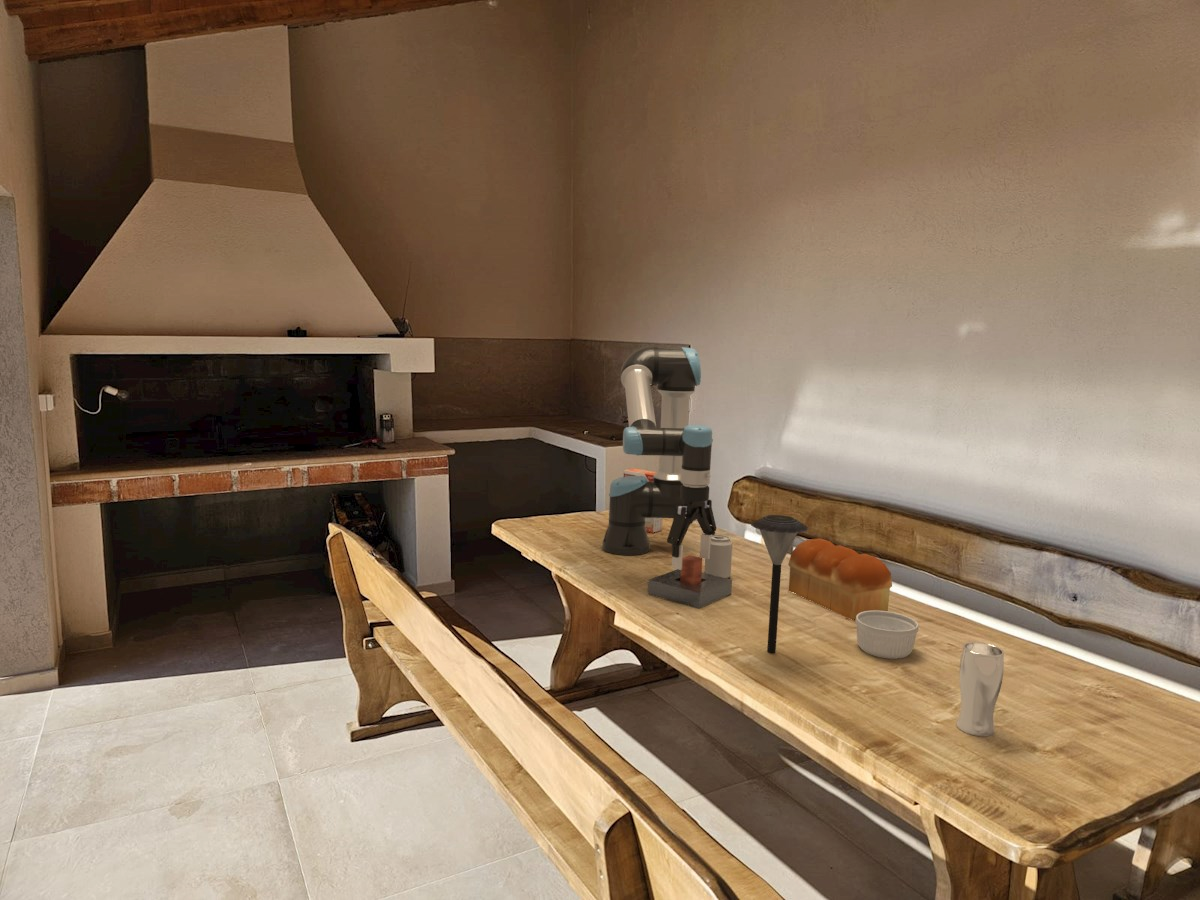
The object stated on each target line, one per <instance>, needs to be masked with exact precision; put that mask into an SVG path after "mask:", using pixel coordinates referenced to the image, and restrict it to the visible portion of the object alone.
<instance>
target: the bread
mask: <svg viewBox="0 0 1200 900" xmlns="http://www.w3.org/2000/svg"><path fill="white" fill-rule="evenodd" d="M787 565H788V566H789V576H788V577H789V578H788V580H789V581H788V592H789V591H791V592H794V593H796V594H797V595H796V594H795V595H796V596H798V595H800V596H802V597H804V598H803V599H805V598H806V599H805V600H807V599H808V600H807V601H809V600H811V601H813V602H815V603H814V604H816V603H817V604H816V605H818V604H820V605H822V606H824V607H823V608H825V607H826V608H825V609H827V608H828V609H827V610H829V609H830V610H829V611H831V610H832V611H831V612H834V613H836V614H838V615H840V614H841V615H840V616H842V617H845V618H847V619H849V618H850V620H851V619H852V621H854V620H853V619H855V620H856V616H857V614H859V613H861V612H864V611H873V610H878V611H888V612H889V604H890V603H889V602H890V592H891V591H890V590H891V588H892V587H893V582H892V573H891V570H889V568H888V566H886V564H885V563H884V562H883V561H882V560H880V559H879V558H878V557H875V556H873V555H871V554H868V553H858V552H857V551H855V550H854V549H852V548H849V547H846V546H843V545H841V544H839V545H835V544H834V543H832V542H831V541H830V540H826V539H823V538H822V537H821V538H811V539H806V540H804V541H802V542H801V543H799V544H797V545H796V547H794V549H793V550H792V551H791V553H790V557H789V561H788V564H787ZM791 592H790V593H791ZM800 596H799V597H800ZM802 597H801V598H802ZM811 601H810V602H811ZM813 602H812V603H813ZM820 605H819V606H820ZM822 606H821V607H822Z"/></svg>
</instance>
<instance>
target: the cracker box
mask: <svg viewBox="0 0 1200 900" xmlns="http://www.w3.org/2000/svg"><path fill="white" fill-rule="evenodd" d="M657 472H658V471H650V470H645V469H640V468H634V467H633V468H627V469H624V470H623V477H627V476H644V477H646V478H647V481H653V479H654V475H655V474H656V473H657ZM645 529H646V532H647V533H649V532H650V533H649V534H655V533H659V532H662V531H663V518H645ZM661 530H662V531H661ZM658 531H659V532H658ZM654 532H655V533H654Z"/></svg>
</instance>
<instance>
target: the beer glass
mask: <svg viewBox="0 0 1200 900" xmlns="http://www.w3.org/2000/svg"><path fill="white" fill-rule="evenodd" d="M1004 654H1005V651H1004V650H1003V649H1001V647H998V646H997V645H994V644H990V643H986V642H979V641H970V642H969V641H968V642H965V643H964V644H963V645H962V652H961V657H960V662H959V670H958V671H959V674H958V675H959V677H958V678H959V679H958V680H959V689H960V690H959V691H960V704H961V705H960V711H959V715H958V717H957V722H956V726H957V728H958V730H960V731H962V732H964V733H966V734H968V735H971V736H975V737H981V738H982V737H983V738H987V737H991V736H993V735H994V734H995V723H994V712H995V707H996V706H997V701H998V697H999V695H1000V691H1001V689H1002V684H1003V678H1004V664H1005V663H1004V660H1005V659H1004V658H1005V657H1004V656H1005V655H1004Z"/></svg>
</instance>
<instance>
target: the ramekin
mask: <svg viewBox="0 0 1200 900" xmlns="http://www.w3.org/2000/svg"><path fill="white" fill-rule="evenodd" d="M854 621H855V624H856V639H857V645H858V646H859V648H860V649H861V650H862V651H863V652H865V653H866V654H868V655H871V656H874V657H879V658H883V659H889V660H890V659H891V660H892V659H893V660H895V659H897V660H898V658H899V659H903V658H907V657H908V656H909V655H911V653H912V651H913V650H914V647H915V642H916V637H917V635H918V634H917V633H918V632H919V623H918V621H917V620H916V619H913V618H912V617H909V616H907V615H905V614H902V613H899V612H894V611H889V610H888V611H878V610H873V611H864V612H861V613H859V614H857V616H856V619H855V620H854Z"/></svg>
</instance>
